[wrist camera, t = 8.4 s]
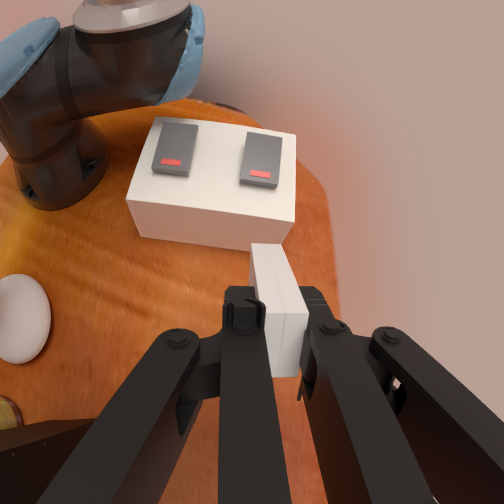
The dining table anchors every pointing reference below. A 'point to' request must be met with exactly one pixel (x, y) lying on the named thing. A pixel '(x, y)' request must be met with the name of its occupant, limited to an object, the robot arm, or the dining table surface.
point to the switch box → (213, 192)
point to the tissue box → (36, 457)
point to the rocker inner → (175, 148)
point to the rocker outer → (261, 160)
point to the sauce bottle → (9, 414)
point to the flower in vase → (22, 318)
